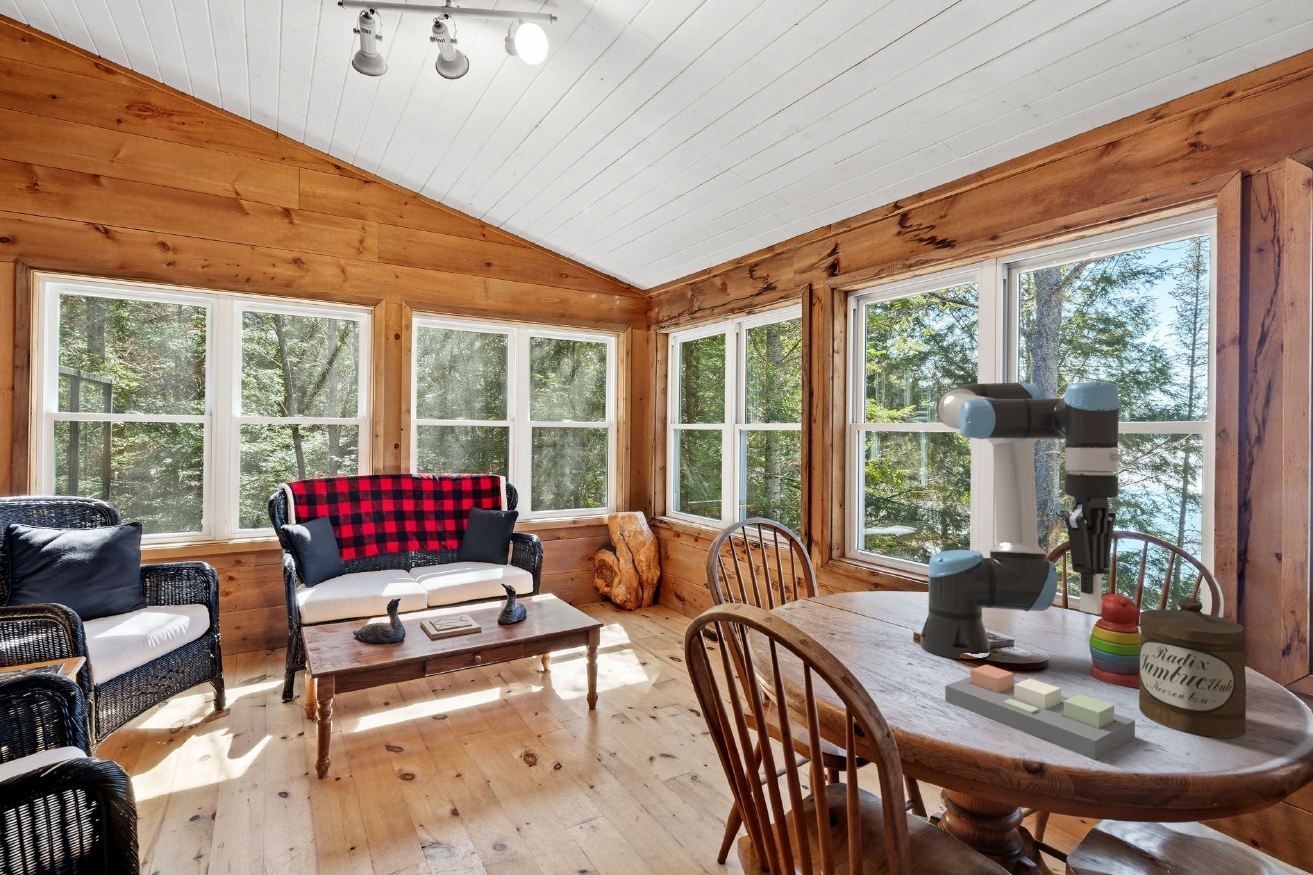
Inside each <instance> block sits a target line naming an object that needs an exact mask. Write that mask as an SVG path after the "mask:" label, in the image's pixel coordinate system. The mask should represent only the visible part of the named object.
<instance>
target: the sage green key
mask: <svg viewBox="0 0 1313 875" xmlns="http://www.w3.org/2000/svg"><path fill="white" fill-rule="evenodd" d="M1114 713H1115V705H1114V704H1110V703H1108V702H1105V701H1102V700H1099V699H1095V698H1092V697H1089V696H1086V695H1084V694H1083V695H1082V694H1076V695H1075V696H1072V697H1070V698H1069V699H1067V700H1065V701H1064V717H1066V718H1069V719H1072V720H1074V721H1077V722H1080V723H1083V724H1086V725H1088V726H1091V727H1094V728H1097V729H1102V728H1104V727H1106V726H1108V725H1110V724H1112V723H1114Z"/></svg>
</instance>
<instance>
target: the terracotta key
mask: <svg viewBox="0 0 1313 875" xmlns="http://www.w3.org/2000/svg"><path fill="white" fill-rule="evenodd" d="M1014 676H1015V674H1014V672H1011V671H1007V670H1005V669H1002V668H998V667H995V666H993V665H990V664H984V665H981V666H978V667H975V668H972V669H970V677H971V680H970V684H973V685H976V686H979V687H981V688H984V689H987V690H990V691H993V692H995V693H1001V692H1004V691H1006V690H1009V689H1012V688H1014V680H1015V679H1014V678H1015V677H1014Z"/></svg>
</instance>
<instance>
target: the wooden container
mask: <svg viewBox="0 0 1313 875" xmlns="http://www.w3.org/2000/svg"><path fill="white" fill-rule="evenodd" d="M1177 605H1178V607H1180V608H1179V609H1177V610H1176V609H1147V610H1143V611H1140V616H1139V631H1140V634H1141V646H1140V668H1139V688H1138V689H1139V691H1138V692H1139V693H1138V698H1139V699H1138V701H1139V703H1138V706H1139V710H1140V712H1141V713H1142V714H1143V715H1144V716H1145V717H1146V718H1149V719H1150V720H1153V721H1155V722H1156V723H1158V724H1160V725H1163V726H1165V727H1167V728H1172V729H1174V730H1177V731H1180V732H1184V733H1187V734H1188V733H1189V734H1193V735H1199V736H1204V737H1211V738H1227V739H1228V738H1238V737H1240V736H1242V735H1245V733H1246V729H1247V728H1246V727H1247V726H1246V721H1247V719H1246V718H1247V716H1246V709H1247V688H1246V687H1247V684H1246V683H1247V682H1246V681H1247V680H1246V678H1247V676H1246V652H1245V651H1246V650H1245V640H1246V639H1245V635H1246V634H1245V627H1244V626H1243V625H1241V624H1240V623H1238V622H1236V621H1234V620H1229V619H1228V618H1224V617H1221V616H1216V615H1212V614H1206V613H1203V612H1202V611H1201V610H1202V609H1203V602H1201V601H1199V600H1198V599H1196V598H1193V597H1183V598H1181V599H1179V600H1178V601H1177Z"/></svg>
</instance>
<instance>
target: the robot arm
mask: <svg viewBox="0 0 1313 875" xmlns="http://www.w3.org/2000/svg"><path fill="white" fill-rule="evenodd" d="M1120 405H1121V403H1120V401H1119V389H1118V386H1117V385H1116V383H1113V382H1108V381H1107V382H1106V381H1104V382H1103V381H1099V382H1098V381H1096V382H1095V381H1093V382H1091V381H1090V382H1079V383H1070V384H1068V385H1067V387H1066V389H1065V394H1064V397H1063V398H1047V395H1046V393H1045V392H1044V390H1043V389H1042V388H1041V386H1039V384H1036V383H1025V382H1024V383H1023V382H1018V381H1017V382H1002V383H1000V382H999V383H998V382H997V383H996V382H995V383H967V384H960V385H957V386H955V387H952V388H950V389H948V390H946V391H945V392H943V394H942V395H940V397H939V398H938V401H937V403H936V407H935V408H936V410H935V412H936V414H937V417H938V419H939V421H941V422H942V424H943V425H945V426H946V427H949V428H952V429H957V430H959V431H960V433H961V435H962V436H963V437H964V438H967V439H968V438H969V439H978V440H984V439H986V440H987V441H988V442H989V443H991V445H992V446H993V448H992V449H993V470H994V471H993V473H994V474H993V477H994V481H993V482H994V502H995V503H994V505H995V508H994V510H995V532H996V534H995V536H996V544H995V545H994V546H992V547H991V549H990V550H989V557H984V555H983V553H982V552H981V551H978V550H974V549H969V550H968V549H954V550H951V549H950V550H943V551H940V552H937V553H935V554H933V555H932V556H931V557H930V558H929V561H928V562H929V564H928V571H927V575H928V613H927V617H926V619H925V622H924V625H923V627H922V628H923V629H922V630H921V634H920V640H919V642H920V647H921V648H922V649H923V650H925V651H927V652H929V653H931V654H934V655H938V656H941V657H944V658H950V659H956V660H957V659H958V660H961V659H960V654H962V653H971V654H979V653H988V652H989V651H990V652H991V644H990V641H989V637H988V634H987V631H986V627H985V626H984V622H983V609H985V608H986V609H997V610H1011V611H1012V610H1013V611H1024V612H1032V611H1034V612H1035V611H1036V612H1043V611H1044V612H1045V611H1047V610H1048V609H1049V608H1050V607H1052V605H1053V603H1054V601H1055V599H1056V595H1057V592H1058V591H1057V590H1058V586H1059V585H1058V582H1059V580H1058V579H1059V578H1058V575H1059V574H1058V571H1057V566H1056V564H1055V563H1054V562H1053V561H1051V560H1050V559H1047V553H1046V551H1045V549H1043V548H1042V547H1040V546H1039V535H1038V534H1039V533H1038V515H1037V514H1038V513H1037V512H1038V511H1037V510H1038V509H1037V495H1036V494H1037V493H1036V492H1037V491H1036V474H1035V473H1036V470H1035V469H1036V468H1035V449H1034V448H1035V447H1034V445H1035V443H1036V442H1038V440H1039V439H1041V440H1042V439H1044V440H1045V439H1046V440H1047V439H1049V440H1050V439H1052V440H1065V442H1064V443H1065V444H1064V445H1065V446H1064V447H1065V448H1064V471H1067V472H1068V473H1066V475H1064V493H1065V494H1066V495H1067V496H1070V497H1073V498H1074V501H1073V504H1072V514H1071V515H1069V514H1066V515H1065V516H1064V521H1065V525H1066V528H1067V534H1068V535H1067V536H1068V544H1069V550H1070V551H1069V552H1070V558H1071V559H1070V560H1071V566H1072V568H1071V569H1072V571H1073V573H1079V611H1080V612H1085V613H1088V614H1095V615H1100V613H1101V604H1102V598H1103V596H1102V595H1103V594H1102V588H1103V587H1102V586H1103V584H1102V581H1103V580H1102V575H1109V572H1110V570H1108V569H1109V566H1110V558H1111V550H1112V541H1113V540H1112V539H1113V533H1114V525H1115V522H1116V519H1117V514H1116V512H1110V510H1109V507H1110V506H1109V502H1108V501H1109V500H1108V499H1114V498H1116V497H1118V495H1119V477H1118V475H1116V474H1115V475H1114V473H1117V472H1118V470H1119V461H1120V460H1121V458H1122V456H1121V454H1119V419H1120V418H1119V416H1120V415H1119V410H1120Z"/></svg>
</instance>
